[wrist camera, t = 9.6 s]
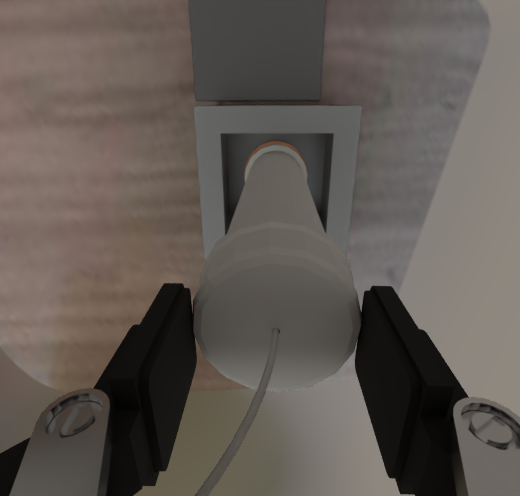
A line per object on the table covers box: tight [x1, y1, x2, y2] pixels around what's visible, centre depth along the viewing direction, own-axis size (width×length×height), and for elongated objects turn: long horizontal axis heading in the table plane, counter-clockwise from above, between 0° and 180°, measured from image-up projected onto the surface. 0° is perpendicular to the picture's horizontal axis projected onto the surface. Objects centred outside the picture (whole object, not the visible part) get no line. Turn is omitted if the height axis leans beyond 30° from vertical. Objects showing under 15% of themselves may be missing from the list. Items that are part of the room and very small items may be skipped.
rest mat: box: [189, 0, 326, 101], centre depth 34 cm, size 9×13×1 cm
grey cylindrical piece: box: [193, 144, 362, 496], centre depth 19 cm, size 6×6×30 cm
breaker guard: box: [194, 105, 362, 258], centre depth 34 cm, size 13×13×11 cm
